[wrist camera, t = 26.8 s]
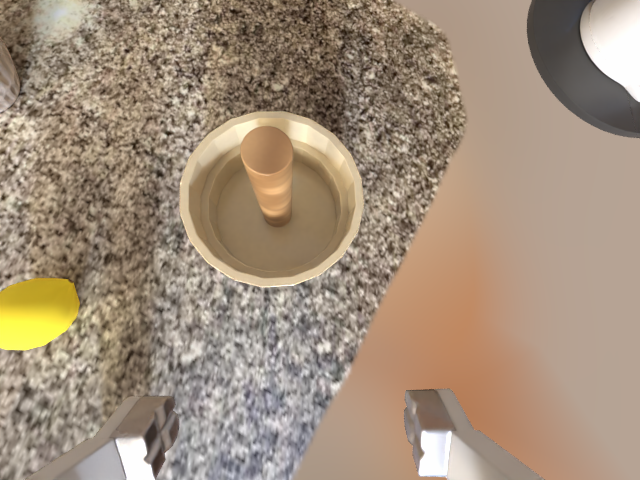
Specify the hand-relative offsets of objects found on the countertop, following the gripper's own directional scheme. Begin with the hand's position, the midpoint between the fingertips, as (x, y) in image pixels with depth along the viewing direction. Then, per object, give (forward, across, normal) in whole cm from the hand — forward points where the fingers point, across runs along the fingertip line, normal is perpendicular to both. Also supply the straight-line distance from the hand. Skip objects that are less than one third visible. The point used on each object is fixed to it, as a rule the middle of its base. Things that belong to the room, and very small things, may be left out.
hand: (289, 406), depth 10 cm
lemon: (+15, +23, +4) cm, 28 cm away
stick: (+21, +3, -3) cm, 21 cm away
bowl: (+21, +3, -3) cm, 22 cm away
